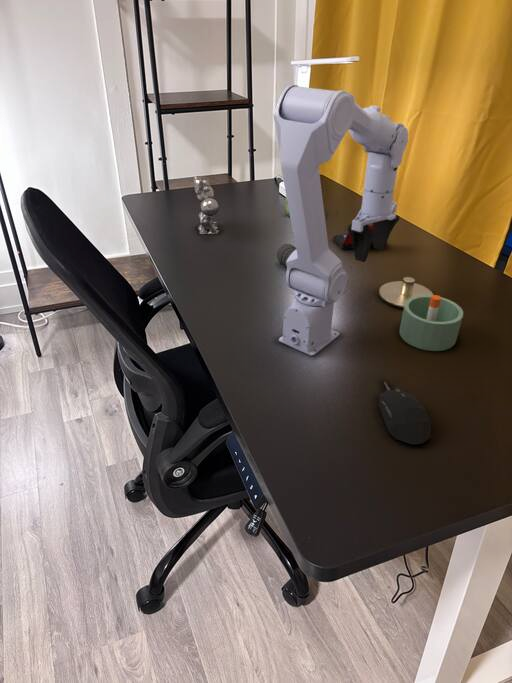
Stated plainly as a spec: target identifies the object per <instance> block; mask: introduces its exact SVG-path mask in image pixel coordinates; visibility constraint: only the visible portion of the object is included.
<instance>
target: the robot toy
mask: <svg viewBox="0 0 512 683" xmlns="http://www.w3.org/2000/svg"><path fill="white" fill-rule="evenodd" d="M205 178H206V177H202V176H200V175H197V176H195V177H194V178H193V189H194V191H195V195H196V199H197V201H198V202H199V203H200V211H201V212H199V214H198V215H197V216H198V220H199V223H200V225H199V226H198V227H197V229H198V231H199V234H200V235H218V234H219V233H220V230H219V226H218V224H216V223H217V221H214V217H215V215H217V213H218V212H219V208H220V207H219V203H218V202H217V200H216V199H214V198H215V193H214V192H215V191H214V189H213V188H212V186H211V184H210V183H209V179H210V178H207V179H205Z"/></svg>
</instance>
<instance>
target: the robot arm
mask: <svg viewBox="0 0 512 683" xmlns="http://www.w3.org/2000/svg"><path fill="white" fill-rule="evenodd" d="M355 100H356V99H355V95H354V94H351V93H349V92H348V91H347V90H331V89H323V88H314V87H306V86H299V85H298V84H290V85H289V84H288V85H287V86H286V87H285V88H284V89H283V90H282V92H281V93H280V96H279V98H278V100H277V104H276V105H275V109H274V111H273V121H274V127H275V132H276V138H277V143H278V148H279V151H280V169H281V173H282V179H283V185H284V190H285V197H286V196H287V202H288V207H289V213H290V216H289V218H290V223H291V228H292V229H291V230H292V234H293V240H294V244H295V245H294V246H295V247H296V250H295V251H294V252H292V254H291V255H290V256H289V258H288V259H287V261H286V264H287V267H286V272H285V273H286V274H285V281H286V285H287V287H288V288H289V289H291V295H293V296H294V299H293V301H292V303H291V305H290V306H289V307H288V308H287V309H286V310H285V311H284V314H283V318H282V321H283V322H282V336H280V337H279V338H278V342H279V343H282V344H284V345H287V346H288V347H291V348H293V349H295V350H297V351H299V352H302V353H304V354H306V355H308V356H311V357H313V356H315V355H316V354H318V353H319V352H320V351H321V350H323V349H324V348H325V347H326V346H328V345H329V344H331V342H333V341H334V340H335V339H337V338H338V337H339V336H340V332H339V331H337V330H334V329H332V324H333V314H334V307H335V306H334V304H335V303H336V302H337V301H339V300H340V299H341V298H342V296H343V294H344V293H345V291H346V287H347V284H348V276H347V272H346V271H345V269H344V268H343V262H342V260H341V259H340V258H339V257H338V256H337V255H336V254H335V253H334V252H333V251H332V250H331V249H330V248H329V240H328V233H327V231H328V230H327V223H326V217H325V207H324V201H323V200H324V199H323V191H322V182H321V174H320V165H322V164H324V163H326V162H329V161H330V160H331V159H332V158H333V156H334V154H335V153H336V151H337V150H338V147H339V146H340V144H341V142H342V141H343V139H344V137H345V136H346V134H347V132H348V131H349V134H350V138H351V139H352V140H353V141H354V142H355V143H357V144H359V145H361V146H363V151H364V152H365V154H367V160H366V167H365V177H364V183H363V184H364V185H363V193H362V200H361V208H360V209H359V211H358V213H357V215H356V217H354V218H353V219H352V221H351V224H349V225H347V233H348V232H349V234H350V237H351V239H352V242H353V247H354V248H353V252H354V259H355V261H359V262H362V263H365V262H366V261H367V259H368V255H369V252H370V248H371V246H370V245H371V243H372V240H373V246H372V247H373V248H374V249H377V250H380V251H383V250H384V249H385V247H386V245H387V242H388V240H389V237H390V235H391V233H392V231H393V229H394V228H395V226H396V224H397V223H398V222H399V221H400V215H397V214H395V213H396V212H397V207H398V202H396V201H393V200H394V195H395V194H394V193H395V187H396V183H397V182H396V181H397V175H398V169H399V166H401V164H402V162H403V157H404V153H405V151H406V149H407V146H408V142H409V131H408V128H407V127H406V126H405V125H404V124H403V123H401V122H400V123H399V122H393V121H392V120H391V116H390V115H386V114H382V113H381V110H382V109H381V108H380V106H378V105H370V106H369V107H362V106H360V105H359V104H358V103H357V102H356V101H355ZM371 224H372V225H373V230H374V231H373V230H370V228H368V227H369V226H370V225H371Z"/></svg>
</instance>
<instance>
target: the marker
mask: <svg viewBox="0 0 512 683" xmlns="http://www.w3.org/2000/svg"><path fill="white" fill-rule="evenodd" d="M440 302H441V295H439V294H433V295H432V296H431V299H430V304H429V310H428V314H427V318H426V320H430V321H436V317H437V313H438V309H439V306H440Z"/></svg>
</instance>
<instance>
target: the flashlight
mask: <svg viewBox="0 0 512 683" xmlns="http://www.w3.org/2000/svg"><path fill="white" fill-rule="evenodd" d="M295 250H296V246H295V245H293V244H291V243H284V244H282V245H280V246H279V248H278V249H277V252H276V258H277V261H278V262H279V264H281V265H282V266H283V267H285V268H287V264H286V261H287V259H288V258H289V256H290V255H291V254H292V252H294V251H295Z"/></svg>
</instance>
